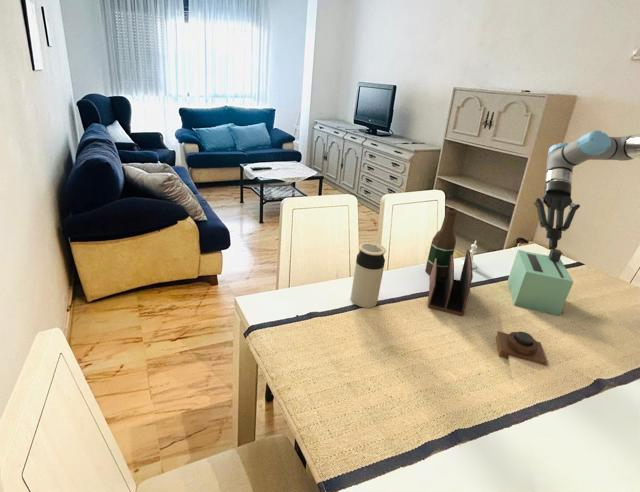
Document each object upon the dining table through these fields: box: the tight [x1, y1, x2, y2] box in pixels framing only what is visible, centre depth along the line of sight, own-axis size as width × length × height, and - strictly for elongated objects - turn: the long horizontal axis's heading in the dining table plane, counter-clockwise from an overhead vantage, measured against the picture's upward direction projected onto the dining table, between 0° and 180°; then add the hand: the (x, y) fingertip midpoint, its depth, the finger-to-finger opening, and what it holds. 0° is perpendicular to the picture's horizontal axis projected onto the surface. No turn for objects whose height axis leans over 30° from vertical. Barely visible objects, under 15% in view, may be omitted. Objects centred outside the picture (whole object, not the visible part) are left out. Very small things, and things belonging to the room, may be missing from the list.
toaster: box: [507, 249, 574, 317], centre depth 121 cm, size 12×16×12 cm
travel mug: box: [350, 242, 387, 309], centre depth 113 cm, size 8×8×18 cm
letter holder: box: [427, 249, 474, 317], centre depth 119 cm, size 10×20×14 cm, turn 158°
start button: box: [515, 331, 534, 346], centre depth 97 cm, size 4×4×2 cm
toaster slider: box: [547, 248, 563, 262], centre depth 121 cm, size 2×2×3 cm
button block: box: [495, 330, 548, 366], centre depth 98 cm, size 10×8×4 cm
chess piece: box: [461, 240, 478, 269], centre depth 139 cm, size 5×5×10 cm
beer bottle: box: [425, 207, 458, 277], centre depth 130 cm, size 8×8×24 cm
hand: (552, 247), depth 124 cm, fingers closed
